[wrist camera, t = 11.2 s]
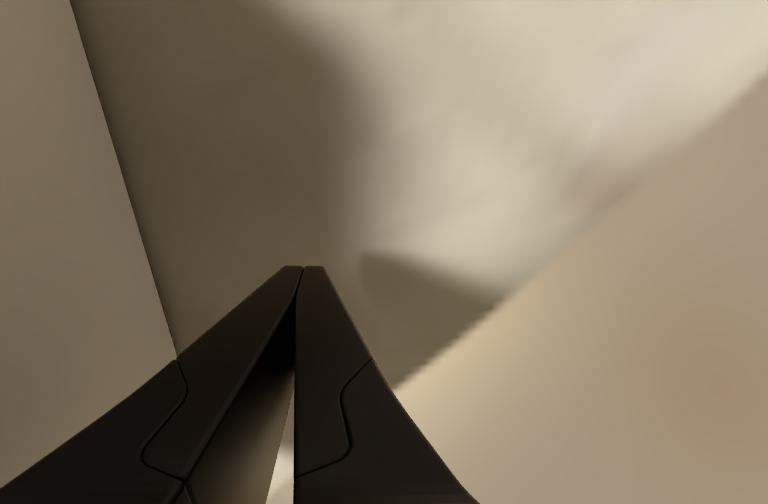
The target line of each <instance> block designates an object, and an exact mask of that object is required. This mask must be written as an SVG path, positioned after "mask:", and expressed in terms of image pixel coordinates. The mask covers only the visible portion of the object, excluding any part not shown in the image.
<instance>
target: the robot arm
mask: <svg viewBox="0 0 768 504" xmlns="http://www.w3.org/2000/svg"><path fill="white" fill-rule="evenodd" d="M293 388H294V497H293V498H294V499H293V504H480V503H478V502H477V501H476V500H475V499H474V498H473V497H472V496H471V495H470V494H469V493H468V492H467V491H466V490H465V488H464V487H463V486H462V485H461V484H460V483H459V481H458V480H457V479H456V477H455V476H454V475H453V474H452V472H451V471H450V470H449V468H448V467H447V466H446V465H445V463H444V462H443V460H442V459H441V458H440V456H439V455H438V454H437V452H436V451H435V450H434V448H433V447H432V446H431V444H430V443H429V442H428V440H427V439H426V438H425V436H424V435H423V434H422V432H421V431H420V430H419V428H418V427H417V426H416V424H415V423H414V422H413V420H412V419H411V418H410V416H409V415H408V413H407V412H406V411H405V409H404V408H403V406H402V405H401V404H400V402H399V401H398V399H397V398H396V396H395V395H394V393H393V392H392V390H391V388H390V387H389V385H388V383H387V382H386V380H385V378H384V377H383V375H382V373H381V371H380V370H379V368H378V366H377V364H376V362H375V361H374V360H373V357H372V355H371V353H370V352H369V350H368V348H367V346H366V344H365V342H364V341H363V339H362V337H361V335H360V333H359V331H358V330H357V328H356V326H355V324H354V322H353V320H352V318H351V317H350V315H349V313H348V311H347V309H346V307H345V306H344V304H343V302H342V300H341V298H340V296H339V295H338V293H337V291H336V289H335V287H334V285H333V284H332V282H331V280H330V278H329V276H328V274H327V273H326V271H325V269H324V268H323V267H322V266H306V267H305V268H303V267H302V266H288V265H287V266H284V267H283V268H281V269H280V270H279V271H278V272H277V273H275V274H274V275H273V276H272V277H271V278H270V279H268V280H267V281H266V282H265V283H264V284H262V285H261V286H260V287H259V288H258V289H256V290H255V291H254V292H253V293H252V294H251V295H249V296H248V297H247V298H246V299H245V300H243V301H242V302H241V303H240V304H239V305H237V306H236V307H235V308H234V309H233V310H232V311H230V312H229V313H228V314H227V315H226V316H224V317H223V318H222V319H221V320H220V321H218V322H217V323H216V324H215V325H214V326H213V327H211V328H210V329H209V330H208V331H207V332H205V333H204V334H203V335H202V336H201V337H200V338H198V339H197V340H196V341H195V342H194V343H192V344H191V345H190V346H189V347H188V348H186V349H185V350H184V351H183V352H182V353H181V354H179V355H178V356H177V357H176V360H172V361H171V362H170V363H168V364H167V365H166V366H165V367H164V368H163V369H161V370H160V371H159V372H158V373H157V374H155V375H154V376H153V377H152V378H150V379H149V380H148V381H147V382H145V383H144V384H143V385H142V386H140V387H139V388H138V389H137V390H135V391H134V392H133V393H132V394H130V395H129V396H128V397H126V398H125V399H124V400H122V401H121V402H120V403H118V404H117V405H116V406H114V407H113V408H112V409H110V410H109V411H107V412H106V413H105V414H103V415H102V416H101V417H99V418H98V419H97V420H95V421H94V422H92V423H91V424H90V425H88V426H87V427H85V428H84V429H83V430H81V431H80V432H78V433H77V434H76V435H74V436H73V437H71V438H70V439H69V440H67V441H66V442H64V443H63V444H62V445H60V446H59V447H57V448H56V449H55V450H53V451H52V452H50V453H49V454H48V455H46V456H45V457H43V458H42V459H41V460H39V461H38V462H36V463H35V464H34V465H32V466H31V467H29V468H28V469H27V470H25V471H24V472H22V473H21V474H20V475H18V476H17V477H15V478H14V479H13V480H11V481H10V482H8V483H7V484H6V485H4V486H3V487H1V488H0V504H266V500H267V496H268V492H269V488H270V483H271V479H272V475H273V471H274V467H275V463H276V459H277V454H278V450H279V446H280V442H281V438H282V434H283V430H284V425H285V421H286V417H287V413H288V409H289V405H290V400H291V396H292V392H293Z"/></svg>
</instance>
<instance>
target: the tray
mask: <svg viewBox="0 0 768 504" xmlns="http://www.w3.org/2000/svg"><path fill="white" fill-rule="evenodd" d="M176 357H177V355H176V351H175V348H174V345H173V341H172V338H171V335H170V332H169V328H168V325H167V322H166V318H165V315H164V312H163V308H162V305H161V302H160V298H159V295H158V292H157V289H156V285H155V282H154V279H153V275H152V272H151V269H150V265H149V262H148V259H147V255H146V252H145V249H144V246H143V242H142V239H141V236H140V232H139V229H138V226H137V222H136V219H135V216H134V212H133V209H132V206H131V203H130V199H129V196H128V193H127V189H126V186H125V183H124V179H123V176H122V173H121V170H120V166H119V163H118V160H117V156H116V153H115V150H114V146H113V143H112V140H111V136H110V133H109V130H108V127H107V123H106V120H105V117H104V113H103V110H102V107H101V103H100V100H99V97H98V93H97V90H96V87H95V84H94V80H93V77H92V74H91V70H90V67H89V64H88V60H87V57H86V54H85V50H84V47H83V44H82V41H81V37H80V34H79V31H78V27H77V24H76V21H75V17H74V14H73V11H72V8H71V4H70V1H69V0H0V488H1V487H3V486H4V485H6V484H7V483H8V482H10V481H11V480H13V479H14V478H15V477H17V476H18V475H20V474H21V473H22V472H24V471H25V470H27V469H28V468H29V467H31V466H32V465H34V464H35V463H36V462H38V461H39V460H41V459H42V458H43V457H45V456H46V455H48V454H49V453H50V452H52V451H53V450H55V449H56V448H57V447H59V446H60V445H62V444H63V443H64V442H66V441H67V440H69V439H70V438H71V437H73V436H74V435H76V434H77V433H78V432H80V431H81V430H83V429H84V428H85V427H87V426H88V425H90V424H91V423H92V422H94V421H95V420H97V419H98V418H99V417H101V416H102V415H103V414H105V413H106V412H107V411H109V410H110V409H112V408H113V407H114V406H116V405H117V404H118V403H120V402H121V401H122V400H124V399H125V398H126V397H128V396H129V395H130V394H132V393H133V392H134V391H135V390H137V389H138V388H139V387H140V386H142V385H143V384H144V383H145V382H147V381H148V380H149V379H150V378H152V377H153V376H154V375H155V374H157V373H158V372H159V371H160V370H161V369H163V368H164V367H165V366H166V365H167V364H168V363H170V362H171V361H172V360H176Z"/></svg>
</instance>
